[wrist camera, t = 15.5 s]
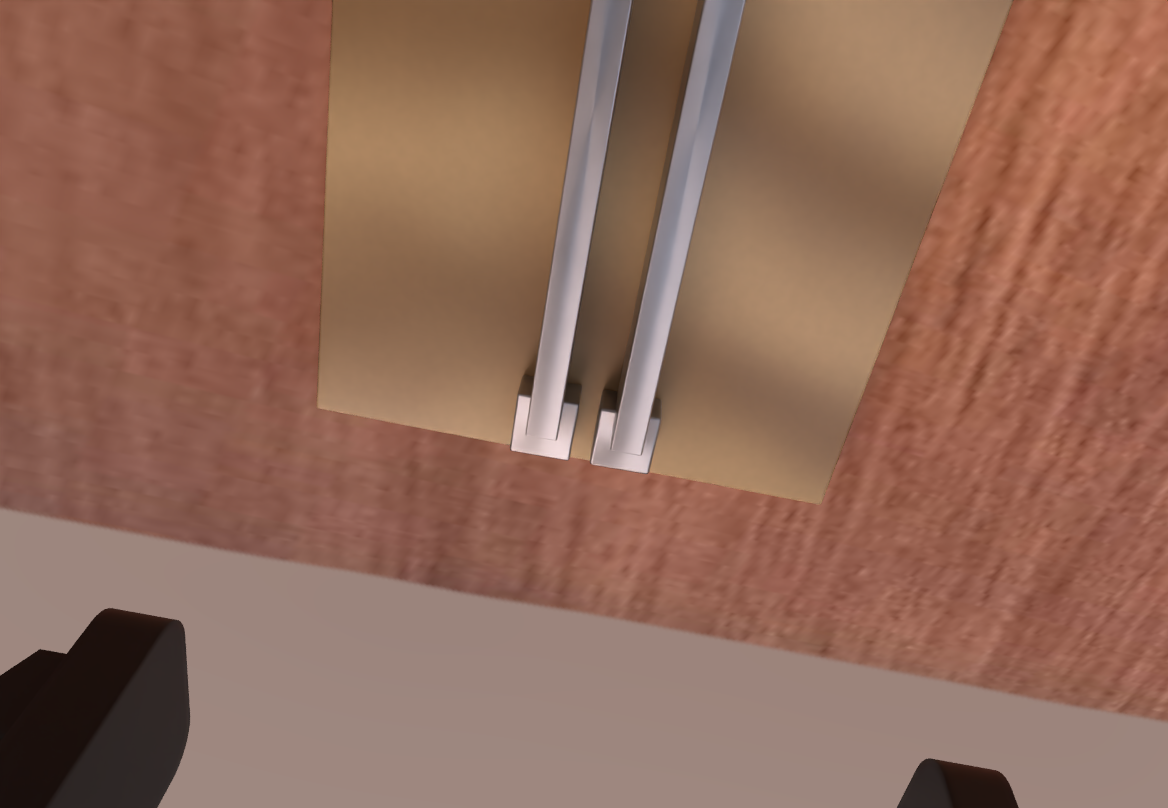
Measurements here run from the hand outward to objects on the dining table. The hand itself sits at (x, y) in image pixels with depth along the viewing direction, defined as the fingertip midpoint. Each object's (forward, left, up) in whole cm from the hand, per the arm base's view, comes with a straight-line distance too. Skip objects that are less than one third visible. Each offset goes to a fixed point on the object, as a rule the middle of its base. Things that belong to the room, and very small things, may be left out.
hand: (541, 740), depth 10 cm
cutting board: (+2, -2, -19) cm, 19 cm away
